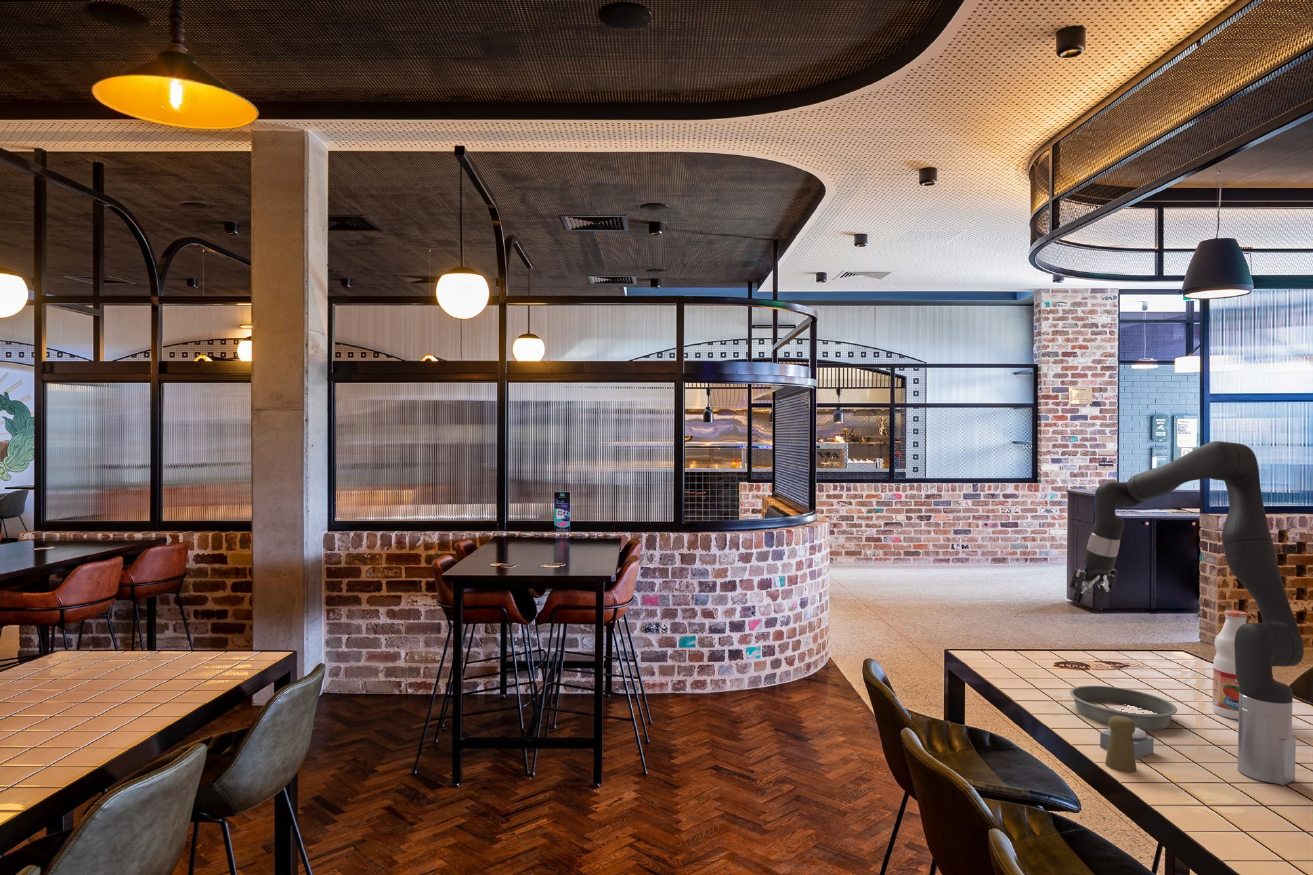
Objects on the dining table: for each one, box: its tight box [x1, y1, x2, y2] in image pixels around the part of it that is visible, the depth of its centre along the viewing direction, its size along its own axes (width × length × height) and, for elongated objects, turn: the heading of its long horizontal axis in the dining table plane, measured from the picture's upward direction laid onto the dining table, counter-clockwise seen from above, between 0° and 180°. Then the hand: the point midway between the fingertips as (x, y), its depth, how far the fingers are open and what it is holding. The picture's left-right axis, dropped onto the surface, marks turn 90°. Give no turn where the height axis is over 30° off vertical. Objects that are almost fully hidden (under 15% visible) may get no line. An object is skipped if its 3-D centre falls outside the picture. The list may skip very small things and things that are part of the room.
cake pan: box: [1069, 685, 1178, 731], centre depth 205 cm, size 25×25×4 cm
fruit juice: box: [1212, 609, 1248, 721], centre depth 207 cm, size 9×9×28 cm
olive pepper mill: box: [1104, 716, 1137, 774], centre depth 171 cm, size 6×6×11 cm
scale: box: [1099, 727, 1155, 760], centre depth 181 cm, size 8×8×5 cm
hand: (1087, 603), depth 218 cm, fingers open, 8 cm apart
